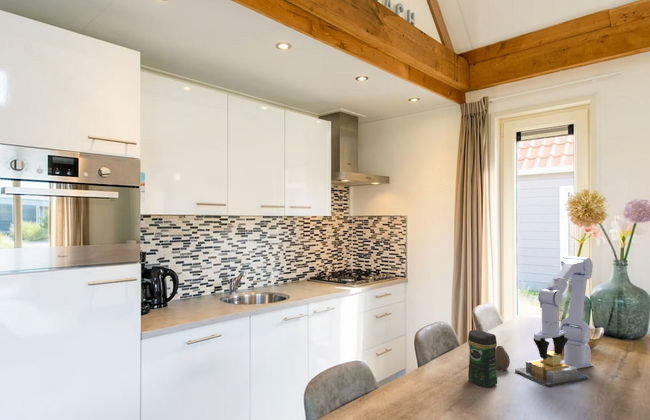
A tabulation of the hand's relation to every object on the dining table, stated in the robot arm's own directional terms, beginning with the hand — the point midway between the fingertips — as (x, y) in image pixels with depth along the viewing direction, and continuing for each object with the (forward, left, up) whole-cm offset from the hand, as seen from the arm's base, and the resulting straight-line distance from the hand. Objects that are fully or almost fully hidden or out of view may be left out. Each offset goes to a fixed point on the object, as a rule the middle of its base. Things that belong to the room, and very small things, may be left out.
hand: (550, 356), depth 152 cm
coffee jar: (+29, -4, -7) cm, 30 cm away
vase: (+13, -12, -7) cm, 19 cm away
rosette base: (0, 0, -7) cm, 7 cm away
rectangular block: (0, 0, -6) cm, 6 cm away
